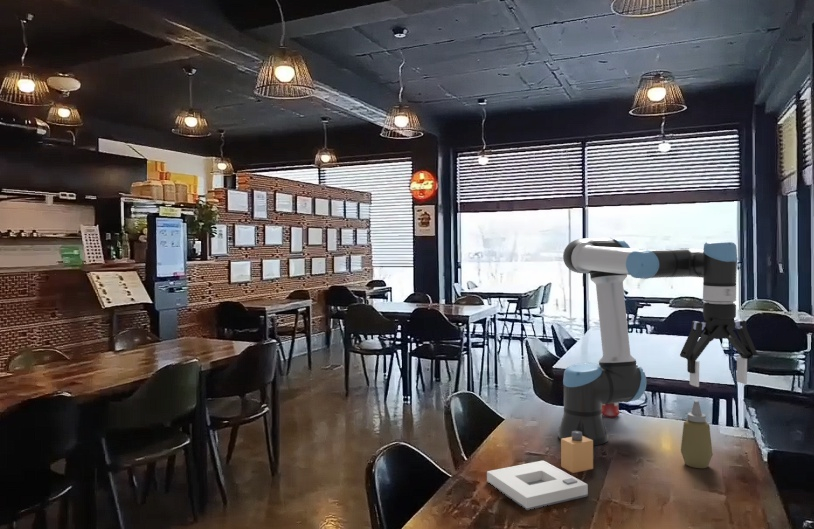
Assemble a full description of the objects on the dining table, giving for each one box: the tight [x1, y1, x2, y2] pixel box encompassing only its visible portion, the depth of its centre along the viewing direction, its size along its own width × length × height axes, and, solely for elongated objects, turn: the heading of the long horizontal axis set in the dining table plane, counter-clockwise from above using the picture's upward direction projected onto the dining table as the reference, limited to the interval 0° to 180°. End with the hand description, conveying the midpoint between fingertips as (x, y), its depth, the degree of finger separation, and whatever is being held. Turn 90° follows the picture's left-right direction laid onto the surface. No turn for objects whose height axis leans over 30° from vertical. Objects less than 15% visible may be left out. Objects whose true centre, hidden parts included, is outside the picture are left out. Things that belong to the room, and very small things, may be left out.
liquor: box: [602, 402, 621, 419], centre depth 213 cm, size 7×7×28 cm
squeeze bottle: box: [680, 400, 714, 469], centre depth 165 cm, size 8×8×18 cm
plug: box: [560, 431, 594, 474], centre depth 165 cm, size 5×7×10 cm
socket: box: [486, 459, 589, 511], centre depth 151 cm, size 18×18×3 cm
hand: (718, 384), depth 152 cm, fingers open, 13 cm apart
